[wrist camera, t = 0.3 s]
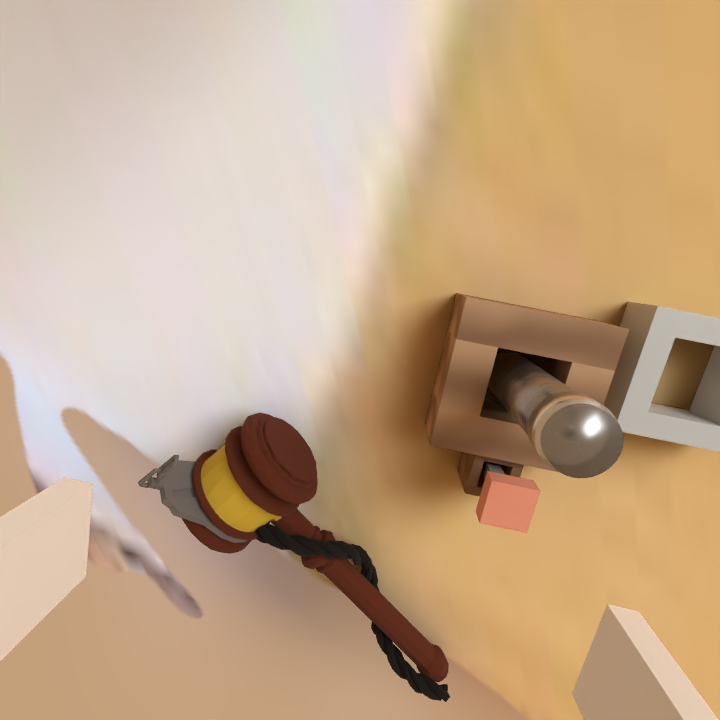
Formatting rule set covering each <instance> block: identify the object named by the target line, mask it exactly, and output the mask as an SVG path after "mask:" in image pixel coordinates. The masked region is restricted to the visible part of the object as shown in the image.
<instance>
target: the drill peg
mask: <svg viewBox="0 0 720 720" xmlns="http://www.w3.org/2000/svg"><path fill="white" fill-rule="evenodd" d="M488 387H489V389H490V390H491V391H492V392H493V394H494V395H495V396H496V397H497V398H498V400H499V401H500V402H501V403H502V405H503V406H504V407H505V408H506V410H507V411H508V412H509V413H510V414H511V416H512V417H513V418H514V419H515V421H516V422H517V423H518V424H519V425H520V427H521V428H522V429H523V430H524V432H525V433H526V434H527V435H528V438H529V441H530V443H531V445H532V446H533V448H534V449H535V450H536V452H537V453H538V454H539V456H540V457H541V458H542V459H543V461H544V462H545V463H546V464H547V465H548V466H549V467H551V468H552V469H554V470H556V471H558V472H560V473H562V474H564V475H567V476H570V477H575V478H588V477H593V476H596V475H599V474H601V473H603V472H604V471H606V470H607V469H609V468H610V467H611V466H612V465H613V464H614V463H615V462H616V461H617V459H618V458H619V456H620V454H621V451H622V448H623V442H624V441H623V432H622V429H621V427H620V425H619V423H618V421H617V419H616V417H615V416H614V415H613V413H612V412H611V411H610V410H609V409H608V408H606V407H605V406H603V405H602V404H600V403H599V402H597V401H596V400H594V399H593V398H591V397H589V396H587V395H585V394H583V393H579V392H576V391H574V390H573V389H571V388H570V387H568V386H567V385H565V384H564V383H562V382H561V381H559V380H558V379H556V378H555V377H553V376H552V375H550V374H549V373H547V372H546V371H544V370H543V369H541V368H540V367H538V366H537V365H535V364H534V363H532V362H531V361H529V360H528V359H526V358H525V357H523V356H522V355H520V354H518V353H515V352H502V353H499V354H497V355H496V358H495V361H494V365H493V369H492V372H491V376H490V380H489V383H488Z"/></svg>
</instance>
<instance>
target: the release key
mask: <svg viewBox="0 0 720 720" xmlns="http://www.w3.org/2000/svg"><path fill="white" fill-rule="evenodd" d="M483 477H484V479H485V481H484V484H483V488H482V491H481V495H480V498H479V502H478V505H477V509H476V514H477V517H478V520H479V522H480V523H482V524H486V525H491V526H496V527H500V528H505V529H510V530H515V531H519V532H524V533H527V531H528V528H529V525H530V522H531V519H532V515H533V512H534V509H535V506H536V503H537V500H538V497H539V494H540V490H539V488H538V487H537V485H536V484H535V482H534V481H533V480H529V479H524V478H519V477H514V476H509V475H505V473H504V472H503V470H502V468H501V466H496V465H492V464H486V467H485V471H484V475H483Z"/></svg>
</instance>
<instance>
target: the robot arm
mask: <svg viewBox="0 0 720 720" xmlns="http://www.w3.org/2000/svg"><path fill="white" fill-rule="evenodd" d="M92 491H93V484H90V483H86V482H81V481H77V480H73V479H68V478H63V479H61V480H59V481H58V482H56V483H54V484H53V485H51V486H50V487H48V488H46V489H45V490H43V491H42V492H40V493H38V494H37V495H35V496H34V497H32V498H30V499H29V500H27V501H26V502H24V503H22V504H21V505H19V506H17V507H16V508H14V509H13V510H11V511H9V512H8V513H6V514H4V515H3V516H1V517H0V661H1V660H2V659H3V658H4V657H5V656H6V655H7V654H8V653H9V652H10V651H11V650H12V649H13V648H14V647H15V646H16V645H17V644H18V643H19V642H20V641H21V640H22V639H23V638H24V637H25V636H26V635H27V634H28V633H29V632H30V631H31V630H32V629H33V628H34V627H35V626H36V625H37V624H38V623H39V622H40V621H41V620H42V619H43V618H44V617H45V616H46V615H47V614H48V613H49V612H50V611H51V610H52V609H53V608H54V607H55V606H56V605H57V604H58V603H59V602H60V601H61V600H62V599H63V598H65V596H67V595H68V593H69V592H71V590H73V589H74V588H75V587H76V586H77V585H78V583H80V582H81V581H82V580H83V578H85V577H86V568H87V556H88V543H89V530H90V517H91V504H92ZM572 694H573V696H574V698H575V701H576V703H577V705H578V707H579V710H580V712H581V714H582V717H583V719H584V720H718V719H717V717H716V716H715V714H714V713H713V712H712V710H711V709H710V708H709V706H708V705H707V704H706V702H705V701H704V700H703V698H702V697H701V695H700V694H699V693H698V691H697V690H696V689H695V687H694V686H693V685H692V683H691V682H690V681H689V679H688V678H687V676H686V675H685V674H684V672H683V671H682V670H681V668H680V667H679V666H678V664H677V663H676V662H675V660H674V659H673V658H672V656H671V655H670V653H669V652H668V651H667V649H666V648H665V647H664V645H663V644H662V643H661V641H660V640H659V639H658V637H657V636H656V634H655V633H654V632H653V630H652V629H651V628H650V626H649V625H648V624H647V622H646V621H645V620H644V618H643V617H642V615H641V614H640V613H639V611H634V610H630V609H626V608H621V607H617V606H613V605H609V604H607V607H606V609H605V612H604V614H603V617H602V619H601V622H600V624H599V627H598V629H597V632H596V634H595V637H594V639H593V642H592V644H591V647H590V649H589V652H588V654H587V657H586V659H585V662H584V664H583V667H582V669H581V672H580V675H579V677H578V680H577V682H576V685H575V687H574V690H573V692H572Z"/></svg>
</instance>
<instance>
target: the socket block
mask: <svg viewBox="0 0 720 720" xmlns="http://www.w3.org/2000/svg"><path fill="white" fill-rule="evenodd" d="M628 332H629V329H627V328H623V327H620V326H616V325H612V324H608V323H604V322H600V321H596V320H591V319H586V318H580V317H575V316H570V315H565V314H560V313H555V312H550V311H545V310H540V309H534V308H529V307H524V306H519V305H514V304H509V303H504V302H499V301H494V300H489V299H483V298H478V297H473V296H468V295H463V294H458V293H456V297H455V301H454V305H453V309H452V313H451V317H450V321H449V326H448V330H447V334H446V338H445V342H444V346H443V351H442V355H441V359H440V363H439V367H438V371H437V376H436V380H435V384H434V388H433V392H432V396H431V401H430V405H429V409H428V413H427V417H426V421H425V424H426V429H427V433H428V438H429V443H430V445H431V446H436V447H441V448H446V449H450V450H455V451H460V452H463V453H462V456H461V460H460V464H459V468H458V473H459V476H460V479H461V482H462V485H463V489H464V492H465V493H467V494H471V495H476V496H480V495H481V491H482V488H483V484H484V481H485V479H484V477H483V475H484V471H485V468H482V466H483V463H484V461H487V462H491V463H496V464H495V465H496V466H501V468H502V470H503V472H504V473H505V475H509V476H514V477H519V478H520V475H521V472H522V469H523V465H527V466H532V467H537V468H542V469H547V470H551V471H556V470H554V469H552V468H551V467H549V466H548V465H547V464H546V463H545V462H544V461H543V459H542V458H541V457H540V456H539V454H538V453H537V452H536V450H535V449H534V448H533V446H532V445H531V443H530V441H529V438H528V435H527V434H526V433H525V432H524V430H523V429H522V428H521V427H520V425H519V424H518V423H517V422H516V421H515V419H514V418H513V417H512V416H511V414H510V413H509V412H508V411H507V410H506V408H505V407H504V406H503V405H502V404H499V403H494V402H489V401H485V400H484V398H485V394H486V391H487V387H488V383H489V380H490V376H491V372H492V369H493V365H494V361H495V358H496V354H497V350H498V348H503V349H508V350H513V351H518V352H523V353H528V354H533V355H538V356H543V357H545V361H544V364H543V367H542V369H543V370H544V371H546V372H547V373H549V374H550V375H552V376H553V377H555V378H556V379H558V380H559V381H561V382H562V383H564V384H565V385H567V386H568V387H570V388H571V389H573V390H574V391H576V392H579V393H583V394H585V395H587V396H589V397H591V398H593V399H594V400H596V401H597V402H599V403H600V404H602V405H604V402H605V399H606V396H607V393H608V390H609V387H610V384H611V381H612V378H613V376H614V373H615V370H616V367H617V364H618V361H619V358H620V355H621V352H622V349H623V346H624V343H625V340H626V337H627V335H628ZM556 472H558V471H556Z"/></svg>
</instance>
